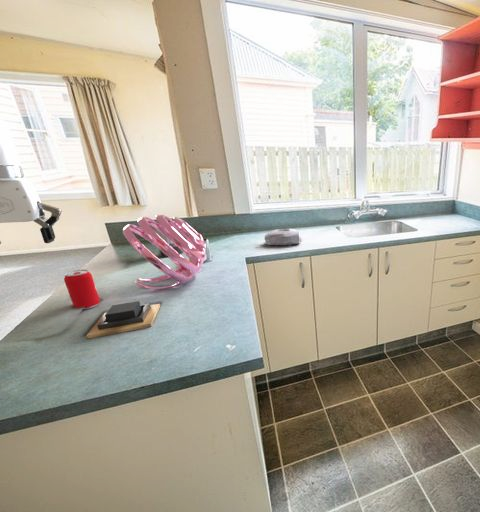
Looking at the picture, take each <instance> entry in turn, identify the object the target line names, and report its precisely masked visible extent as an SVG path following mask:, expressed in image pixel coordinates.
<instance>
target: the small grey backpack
mask: <svg viewBox="0 0 480 512" xmlns="http://www.w3.org/2000/svg"><path fill="white" fill-rule="evenodd" d="M263 239H264V240H265V244H266V245H268V246H277V245H285V246H292V244H293V245H296V244H300V242H301V233H300V231H299V230H298V229H294V228H293V229H292V228H278V229H273V230H271V231H269V232H267V233H266V234H265V235H264V238H263Z"/></svg>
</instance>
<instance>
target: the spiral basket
mask: <svg viewBox="0 0 480 512" xmlns="http://www.w3.org/2000/svg"><path fill="white" fill-rule="evenodd" d="M155 219H156V220H154V219H153V218H151V217H149V216H141V217H140V218H138V219H137V224H138V225H136V224H133V223H129V224H127V225H125V226H124V227H123V229H122V234H123V236H124V237H125V239H126V240H127V242H128V243H129V244H130V245H131V246H132V248H134V250H136V252H138V253H139V254H140V255H141V256H142V257H143V258H144V259H145V260H146V261H147V262H149V263H150V264H151V265H153V266H154V267H155V268H156V269H158V270H159V271H160V272H162V273H163V274H165V275H163V276H159V277H154V278H136V281H135V284H136V285H138V286H139V287H141V288H144V289H149V290H154V291H155V290H157V291H158V290H159V291H161V290H162V291H163V290H169V289H175V288H177V287H180V286H182V285H184V284H187V283H190V282H191V281H192V280H193V279H194V277H195V276H196V275H198V274H199V273H201V271H202V269H203V264H204V263H205V262H204V261H205V260H206V257H207V254H206V252H205V247H206V243H205V241H204V240H203V239H204V238H203V236H202V234H201V233H200V232H197V231H196V230H195V229H194V228H193V227H192V226H191V225H189V224H188V223H187V221H185V220H184V219H182V218H180V217H177V216H173V219H171V218H170V217H168V216H167V215H164V214H155ZM154 228H155V229H156V230H158V231H159V232H160V233H162V234H163V235H164V236H166V237H167V238H168V239H169V240H170V241H172V242H173V243H174V244H175V245H176V246H177V247H178V248H179V249H180V250H181V251H182V253H183V254H184V255H186V257H187V258H188V259H187V258H185V257H184V256H183V255H181V254H179V253H178V252H176V251H175V250H174V249H173V248H172V247H171V246H170V245H168V244H167V243H166V242H165V241H164V240H163V239H162V238H161V237H160V236H159V235H158V234H157V233H156V232H155V229H154ZM174 228H175V229H176V230H177V231H176V230H175V229H174ZM134 233H135V234H136V235H138V236H139V237H142V238H143V239H145V240H146V241H148V243H150V244H152V245H153V246H154V247H156V248H157V249H158V250H159V251H160V250H161V251H162V252H163V253H164V254H165V255H166V256H168V258H169V260H170V261H172V262H173V264H175V266H176V267H177V269H176V270H175V269H172V268H171V267H170V266H169V265H167V264H166V263H164V262H163V261H162V260H161V259H159V258H158V257H157V256H156V255H155V254H153V253H152V252H151V251H150V250H149V249H148V248H147V247H146V246H145V245H144V244H143V243H142V242H141V240H139V239H138V238H137V237H136V235H135V234H134ZM183 236H184V237H185V238H186V239H187V240H188V241H189V242H190V243H189V242H188V241H187V240H185V239H184V238H183ZM198 243H199V244H200V245H199V244H198ZM169 279H173V280H175V281H177V282H176V283H175V284H171V285H167V286H150V285H147V284H144V283H155V282H160V281H161V282H162V281H167V280H169ZM142 282H144V283H142Z"/></svg>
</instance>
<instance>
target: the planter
mask: <svg viewBox="0 0 480 512" xmlns="http://www.w3.org/2000/svg"><path fill="white" fill-rule="evenodd" d="M203 240H204V241H205V243H206V247H205V252H206V254H207V257H206V260H205V261H204V262H203V263H208V262H207V261H209V262H212V260H213V259H212V253H211V248H210V242H209V239H208V238H203ZM198 244H199V243H198ZM199 245H200V244H199Z"/></svg>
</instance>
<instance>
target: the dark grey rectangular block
mask: <svg viewBox="0 0 480 512" xmlns="http://www.w3.org/2000/svg"><path fill="white" fill-rule="evenodd" d="M141 305H142V304H141V302H140V300H137V301H131V302H130V301H129V302H124V303H118V304H112V305H111V306H110V308H109V309H108V310H107V311H106V312H107V313H106V312H105V313H106V314H105V317H106V320H107V322H112V321H117V320H123V319H129V318H134V317H139V316H140V314H141V312H142V309H141Z"/></svg>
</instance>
